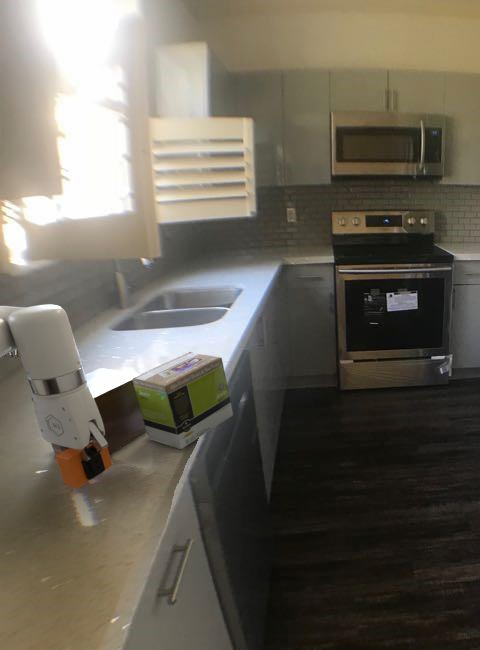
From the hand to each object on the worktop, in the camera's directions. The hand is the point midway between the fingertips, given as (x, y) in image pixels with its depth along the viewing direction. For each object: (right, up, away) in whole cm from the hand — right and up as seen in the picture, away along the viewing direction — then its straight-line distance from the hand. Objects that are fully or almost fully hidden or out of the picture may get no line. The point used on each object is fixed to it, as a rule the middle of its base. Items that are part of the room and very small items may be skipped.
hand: (88, 472), depth 82 cm
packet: (0, -1, 0) cm, 1 cm away
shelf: (-5, +3, +14) cm, 15 cm away
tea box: (+11, +5, +18) cm, 21 cm away
